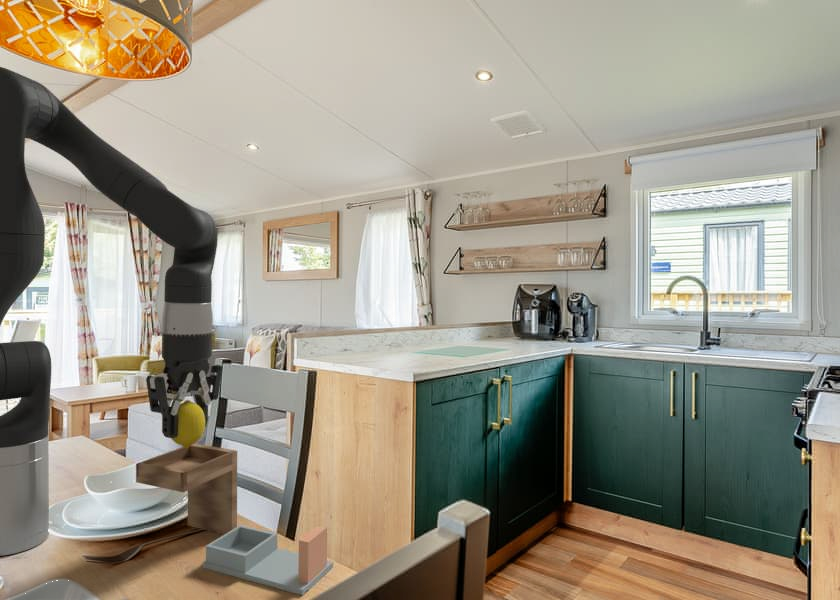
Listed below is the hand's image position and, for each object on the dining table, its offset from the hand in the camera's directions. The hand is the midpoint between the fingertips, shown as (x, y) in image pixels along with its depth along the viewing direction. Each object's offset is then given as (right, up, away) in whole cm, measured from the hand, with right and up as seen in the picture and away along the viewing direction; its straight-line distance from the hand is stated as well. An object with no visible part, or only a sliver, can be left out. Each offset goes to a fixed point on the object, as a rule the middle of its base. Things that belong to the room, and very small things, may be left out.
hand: (185, 431), depth 86 cm
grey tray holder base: (+15, -19, -6) cm, 25 cm away
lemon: (0, -3, 0) cm, 3 cm away
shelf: (0, -19, 0) cm, 19 cm away
